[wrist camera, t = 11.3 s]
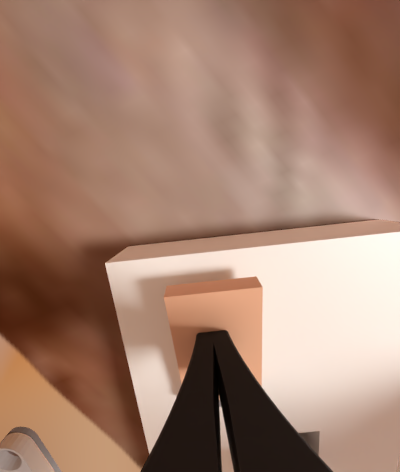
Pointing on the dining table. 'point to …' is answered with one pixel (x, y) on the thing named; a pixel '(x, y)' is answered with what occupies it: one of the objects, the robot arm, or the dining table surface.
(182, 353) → the block
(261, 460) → the robot arm
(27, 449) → the adjustable wrench
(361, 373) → the plate
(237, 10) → the dining table surface
